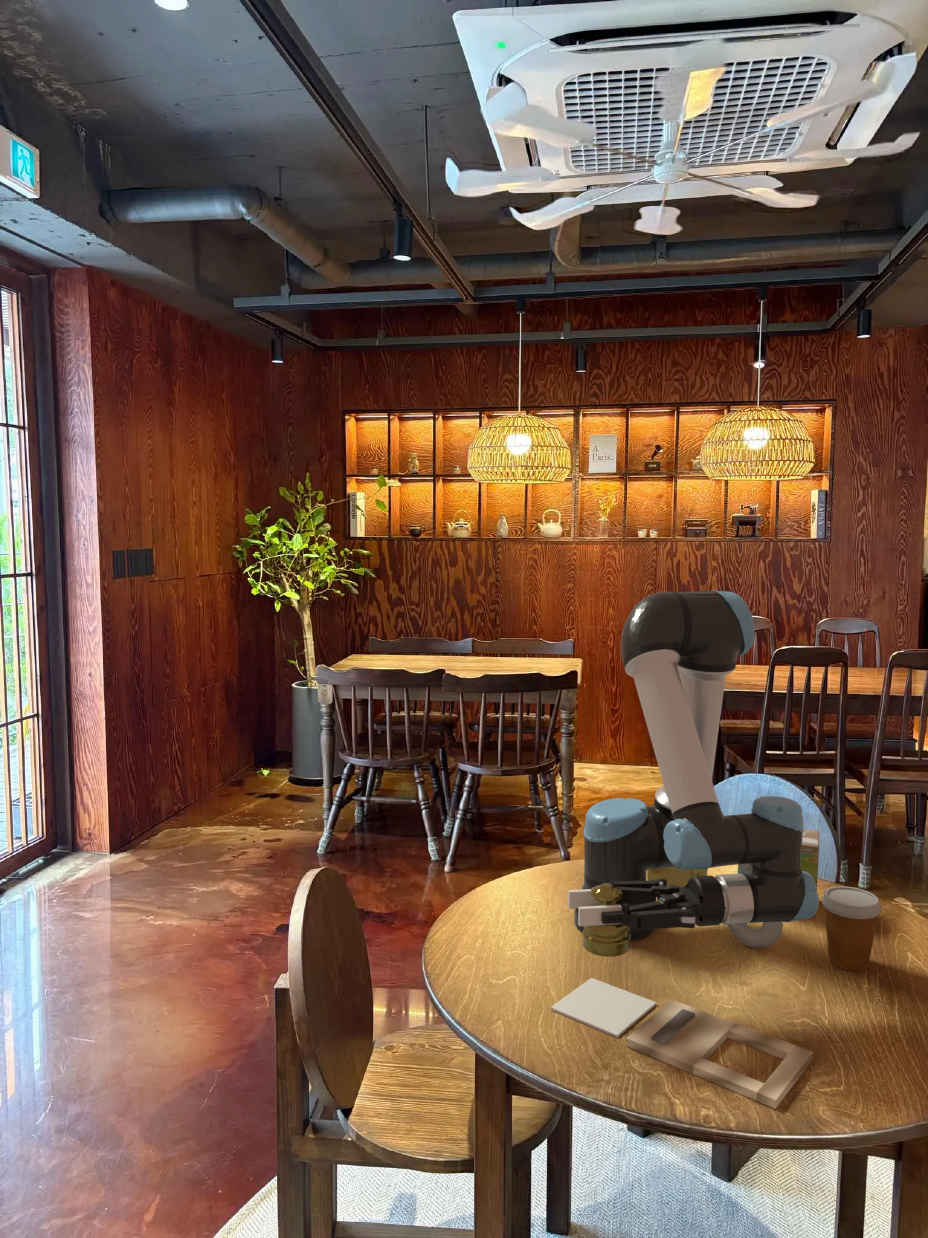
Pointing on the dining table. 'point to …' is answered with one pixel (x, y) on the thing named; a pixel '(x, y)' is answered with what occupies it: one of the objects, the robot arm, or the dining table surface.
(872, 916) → the disposable coffee cup
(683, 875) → the cheese
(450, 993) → the dining table surface
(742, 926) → the donut
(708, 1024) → the light wooden flat frame
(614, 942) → the brass bell weight
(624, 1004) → the mat
